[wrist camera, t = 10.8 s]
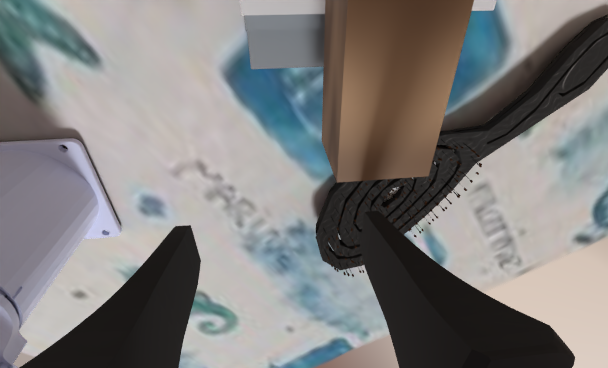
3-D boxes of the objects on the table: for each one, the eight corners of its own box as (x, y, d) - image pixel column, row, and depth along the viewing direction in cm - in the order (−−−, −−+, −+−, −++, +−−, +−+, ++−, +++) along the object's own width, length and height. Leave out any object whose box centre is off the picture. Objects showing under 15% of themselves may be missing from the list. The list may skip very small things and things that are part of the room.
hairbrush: (679, 77, 19) (362, 295, 25) (618, 65, 22) (350, 263, 28) (662, -49, 15) (294, 248, 21) (591, -41, 18) (289, 216, 25)
